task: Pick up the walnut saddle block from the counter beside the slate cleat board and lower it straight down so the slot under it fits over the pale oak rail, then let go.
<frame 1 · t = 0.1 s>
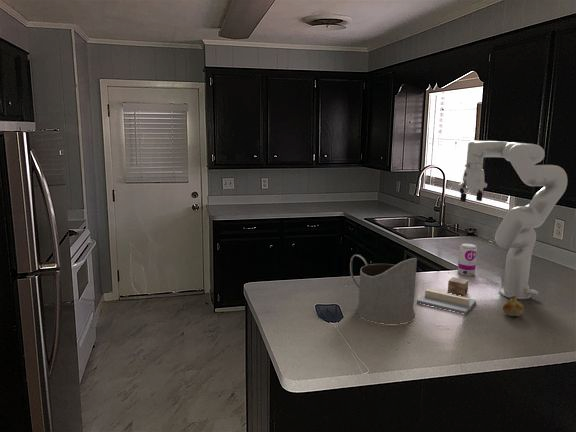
hand: (471, 201, 235), 37 cm above the countertop, tool pointing down, fingers open, 9 cm apart
saddle block: (457, 293, 212), on the countertop
supplement can: (465, 274, 241), on the countertop
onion: (511, 316, 188), on the countertop
pitcher: (377, 310, 191), on the countertop
cleat board: (446, 303, 200), on the countertop
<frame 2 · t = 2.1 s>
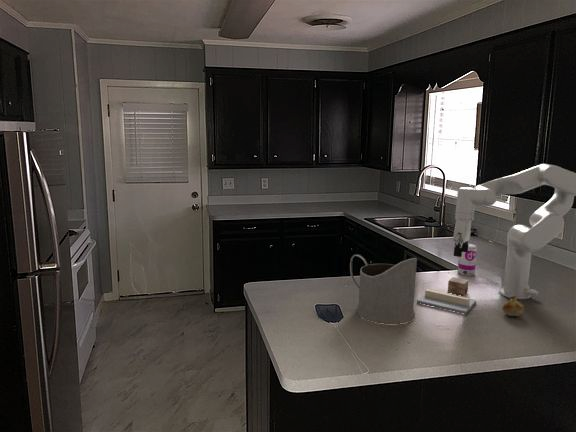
hand: (460, 254, 209), 18 cm above the countertop, tool pointing down, fingers open, 9 cm apart
nothing on the countertop moved.
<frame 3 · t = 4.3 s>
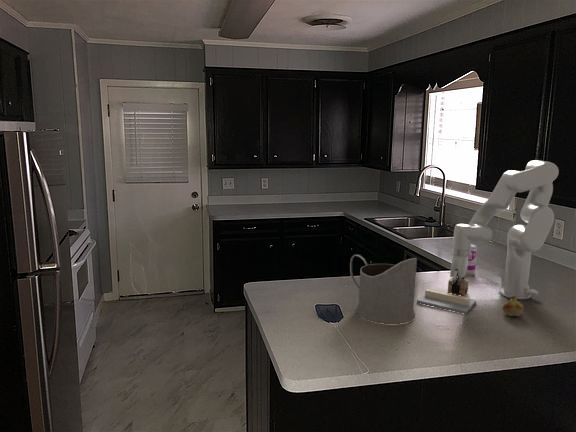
hand: (457, 290, 212), 1 cm above the countertop, tool pointing down, fingers closed on saddle block, 6 cm apart
saddle block: (457, 293, 212), on the countertop, touching gripper
everything else where it was.
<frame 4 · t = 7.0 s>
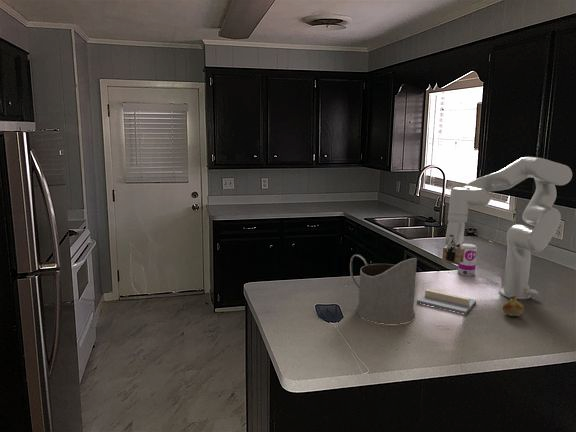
hand: (453, 258, 201), 18 cm above the countertop, tool pointing down, fingers closed on saddle block, 6 cm apart
saddle block: (452, 261, 201), point 17 cm above the countertop, touching gripper
everything else where it was.
when the fingers open (4 cm above the countertop, at t = 9.8 s): saddle block stays where it is, resting on cleat board.
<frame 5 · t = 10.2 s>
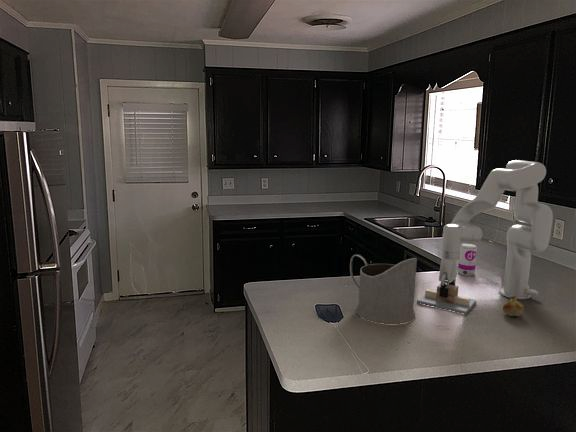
hand: (447, 293, 199), 4 cm above the countertop, tool pointing down, fingers open, 9 cm apart
saddle block: (446, 299, 199), point 1 cm above the countertop, touching cleat board
everything else where it was.
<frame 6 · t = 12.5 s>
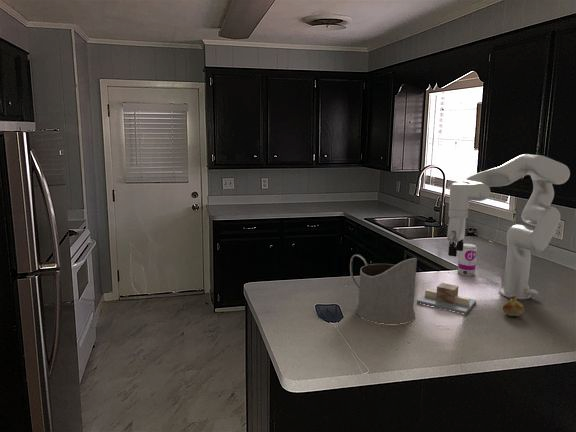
hand: (455, 253, 198), 21 cm above the countertop, tool pointing down, fingers open, 9 cm apart
nothing on the countertop moved.
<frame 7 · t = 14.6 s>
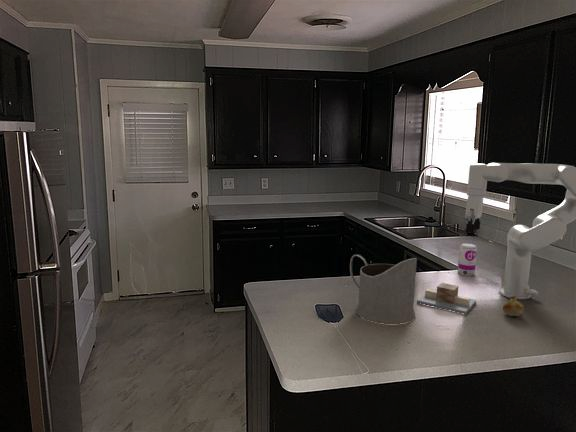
hand: (472, 230, 209), 28 cm above the countertop, tool pointing down, fingers open, 9 cm apart
nothing on the countertop moved.
at the end: saddle block inside the target area on the cleat board (0.1 cm from its centre), point 1.5 cm above the cleat board's base; saddle block tilted 0°; the gripper is holding nothing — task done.
